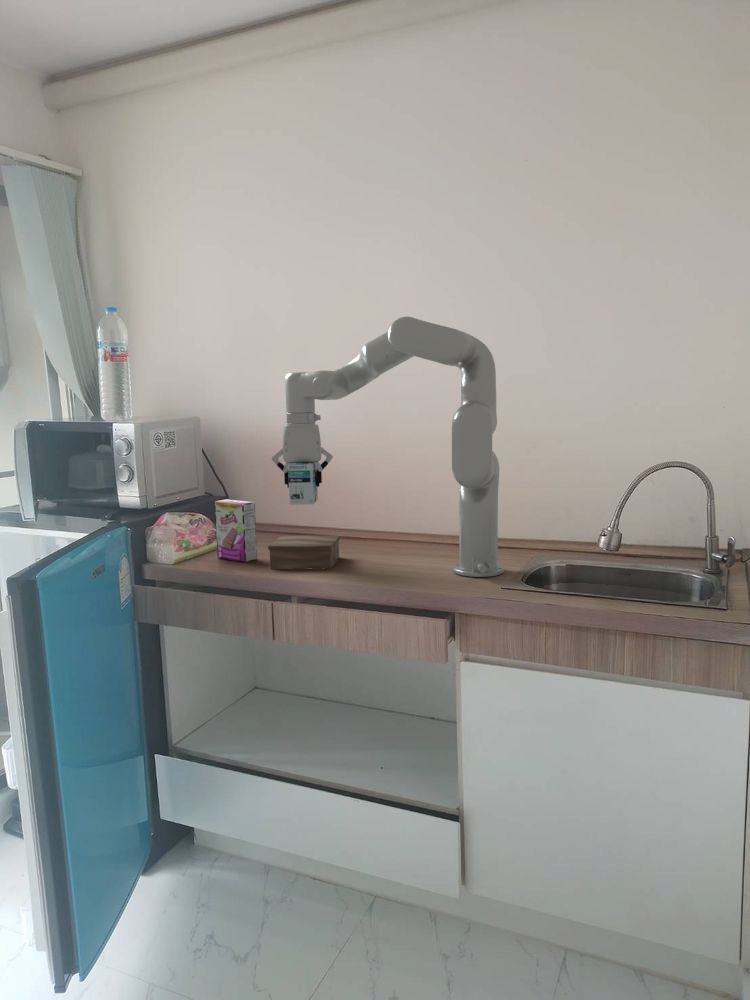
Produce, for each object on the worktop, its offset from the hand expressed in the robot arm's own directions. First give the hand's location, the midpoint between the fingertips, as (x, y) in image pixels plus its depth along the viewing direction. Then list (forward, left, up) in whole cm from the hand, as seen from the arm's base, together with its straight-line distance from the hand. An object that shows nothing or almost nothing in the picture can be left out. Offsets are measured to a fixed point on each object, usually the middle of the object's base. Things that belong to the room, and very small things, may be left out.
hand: (303, 486), depth 195 cm
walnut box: (0, 0, -21) cm, 21 cm away
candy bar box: (+9, +19, -21) cm, 30 cm away
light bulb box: (0, 0, -5) cm, 5 cm away
